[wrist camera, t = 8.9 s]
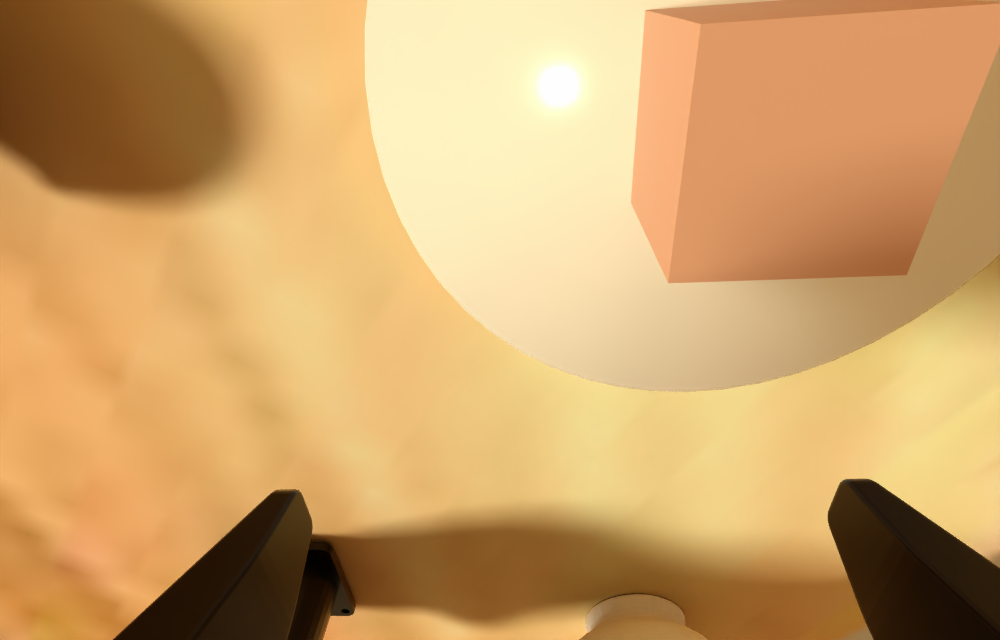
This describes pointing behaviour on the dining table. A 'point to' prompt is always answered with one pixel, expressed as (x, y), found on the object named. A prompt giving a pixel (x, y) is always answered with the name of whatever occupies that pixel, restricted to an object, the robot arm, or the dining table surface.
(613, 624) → the teacup
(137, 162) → the dining table surface
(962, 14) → the block
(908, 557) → the robot arm
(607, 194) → the plate
